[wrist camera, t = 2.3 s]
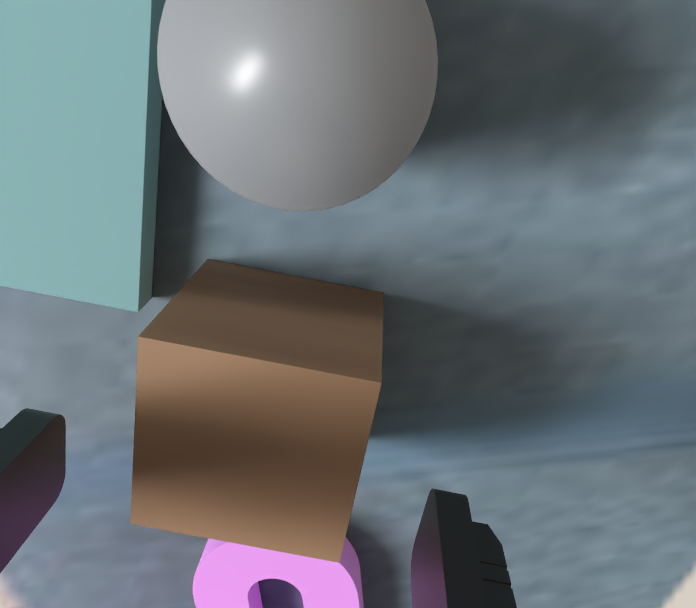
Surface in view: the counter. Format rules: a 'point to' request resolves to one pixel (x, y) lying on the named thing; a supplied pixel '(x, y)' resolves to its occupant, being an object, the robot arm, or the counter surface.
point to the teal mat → (79, 148)
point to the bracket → (274, 577)
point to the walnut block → (256, 409)
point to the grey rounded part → (298, 93)
